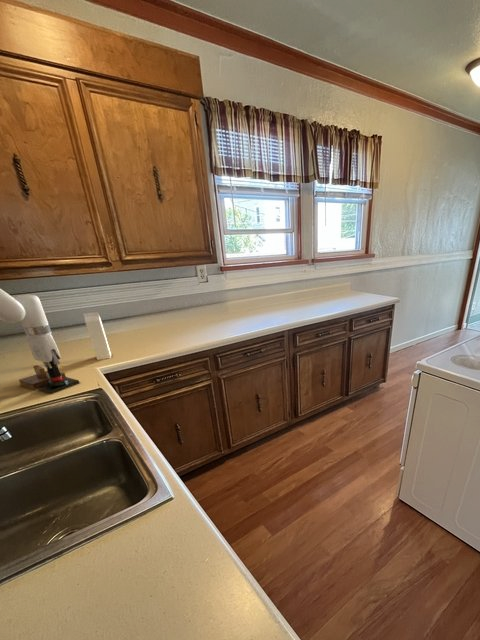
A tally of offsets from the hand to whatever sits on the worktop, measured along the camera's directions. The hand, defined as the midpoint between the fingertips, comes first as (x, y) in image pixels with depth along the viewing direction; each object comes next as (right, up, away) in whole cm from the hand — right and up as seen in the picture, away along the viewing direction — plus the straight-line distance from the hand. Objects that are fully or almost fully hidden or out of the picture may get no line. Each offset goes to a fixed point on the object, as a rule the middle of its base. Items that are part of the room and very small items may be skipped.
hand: (55, 376), depth 127 cm
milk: (-1, +12, +34) cm, 36 cm away
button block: (0, -4, +2) cm, 5 cm away
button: (0, -2, +1) cm, 2 cm away
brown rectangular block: (-9, +1, +5) cm, 11 cm away
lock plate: (-9, -2, +6) cm, 12 cm away
